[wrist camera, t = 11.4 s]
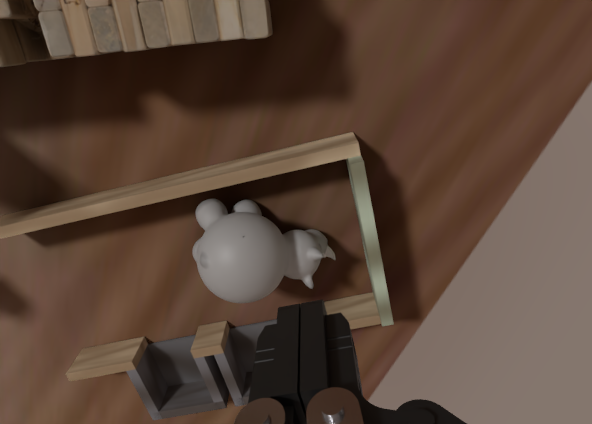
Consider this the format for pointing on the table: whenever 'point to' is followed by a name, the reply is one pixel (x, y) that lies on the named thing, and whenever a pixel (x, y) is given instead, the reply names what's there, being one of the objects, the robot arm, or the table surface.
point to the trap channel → (217, 336)
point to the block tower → (122, 26)
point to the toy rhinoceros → (252, 252)
